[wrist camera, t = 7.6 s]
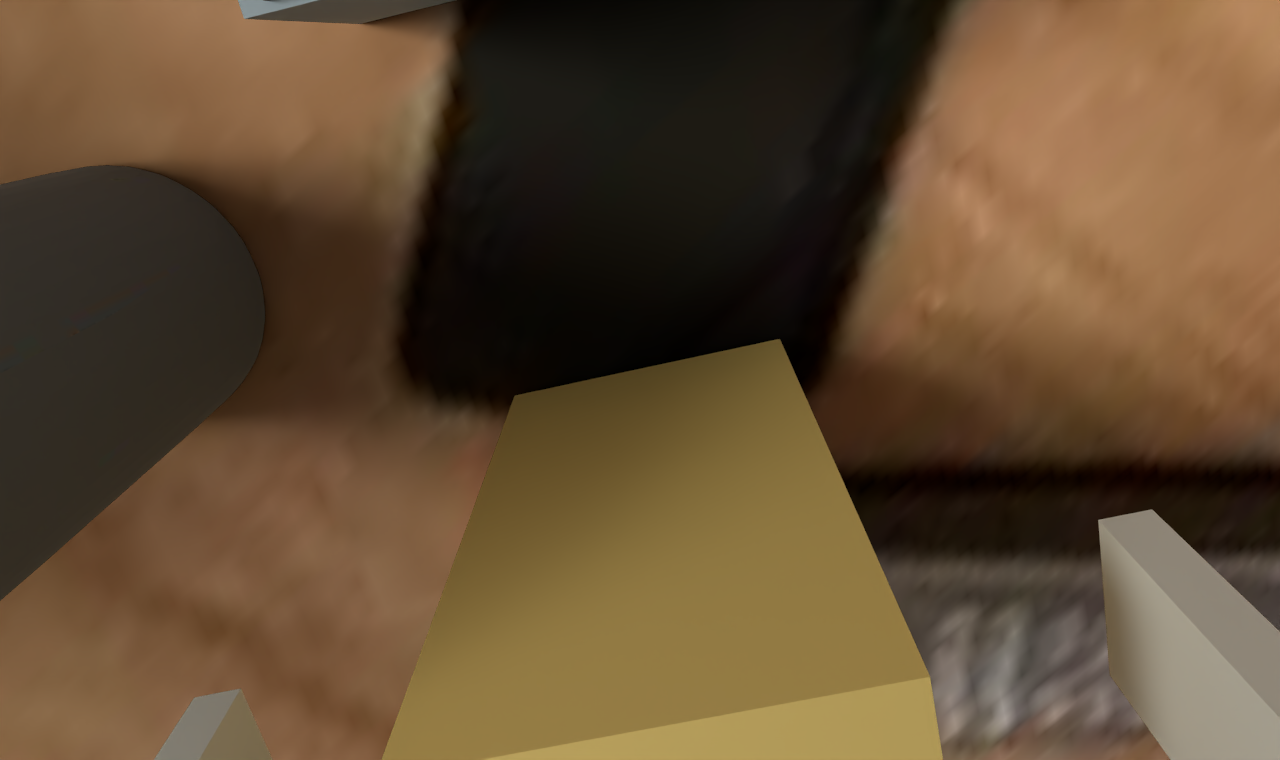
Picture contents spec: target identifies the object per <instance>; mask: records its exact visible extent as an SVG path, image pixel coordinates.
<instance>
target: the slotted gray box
mask: <svg viewBox="0 0 1280 760" xmlns="http://www.w3.org/2000/svg"><path fill="white" fill-rule="evenodd" d="M451 1H455V0H238V2H239V5H240V8H241V11H242V13H243V16H244V19H259V20H282V21H304V22H326V23H349V24H362V23H366V22H370V21H374V20H378V19H382V18H386V17H390V16H394V15H398V14H402V13H406V12H410V11H414V10H419V9H423V8H427V7H431V6H435V5H439V4H443V3H447V2H451Z"/></svg>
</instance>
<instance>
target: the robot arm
mask: <svg viewBox="0 0 1280 760" xmlns="http://www.w3.org/2000/svg"><path fill="white" fill-rule="evenodd" d="M1098 523H1099V536H1100V550H1101V564H1102V577H1103V591H1104V604H1105V618H1106V631H1107V645H1108V658H1109V672H1110V676H1111V677H1112V679H1113V680H1114V682H1115V683H1116V684H1117V686H1118V687H1119V688H1120V690H1121V691H1122V693H1123V694H1124V695H1125V697H1126V698H1127V700H1128V701H1129V702H1130V704H1131V705H1132V707H1133V708H1134V709H1135V711H1136V712H1137V714H1138V715H1139V716H1140V718H1141V719H1142V721H1143V722H1144V723H1145V725H1146V726H1147V728H1148V729H1149V730H1150V732H1151V733H1152V734H1153V736H1154V737H1155V739H1156V740H1157V741H1158V743H1159V744H1160V746H1161V747H1162V748H1163V750H1164V751H1165V753H1166V754H1167V755H1168V757H1169V758H1170V760H1280V632H1279V631H1278V630H1277V629H1276V628H1275V627H1274V626H1273V625H1272V624H1271V623H1270V622H1269V621H1268V620H1267V619H1266V618H1265V617H1264V616H1263V615H1262V614H1261V613H1260V612H1259V611H1258V610H1257V609H1255V608H1254V607H1253V606H1252V605H1251V604H1250V603H1249V602H1248V601H1247V600H1246V599H1245V598H1244V597H1243V596H1242V595H1241V594H1240V593H1239V592H1238V591H1237V590H1236V589H1235V588H1234V587H1232V586H1231V585H1230V584H1229V583H1228V582H1227V581H1226V580H1225V579H1224V578H1223V577H1222V576H1221V575H1220V574H1219V573H1218V572H1217V571H1216V570H1215V569H1214V568H1213V567H1212V566H1211V565H1210V564H1208V563H1207V562H1206V561H1205V560H1204V559H1203V558H1202V557H1201V556H1200V555H1199V554H1198V553H1197V552H1196V551H1195V550H1194V549H1193V548H1192V547H1191V546H1190V545H1189V544H1188V543H1187V542H1185V541H1184V540H1183V539H1182V538H1181V537H1180V536H1179V535H1178V534H1177V533H1176V532H1175V531H1174V530H1173V529H1172V528H1171V527H1170V526H1169V525H1168V524H1167V523H1166V522H1165V521H1164V520H1163V519H1161V518H1160V517H1159V516H1158V515H1157V514H1156V513H1155V512H1154V511H1153V510H1152V509H1151V510H1146V511H1141V512H1136V513H1131V514H1126V515H1121V516H1116V517H1111V518H1106V519H1101V520H1098ZM154 760H272V757H271V755H270V753H269V751H268V748H267V746H266V744H265V742H264V739H263V737H262V735H261V733H260V730H259V728H258V726H257V724H256V721H255V719H254V717H253V715H252V712H251V710H250V708H249V706H248V703H247V701H246V699H245V697H244V694H243V692H242V690H241V689H236V690H231V691H226V692H221V693H216V694H211V695H205V696H200V697H195V698H194V699H193V700H192V702H191V703H190V705H189V707H188V708H187V710H186V711H185V713H184V714H183V716H182V717H181V719H180V720H179V722H178V723H177V725H176V727H175V728H174V730H173V731H172V733H171V734H170V736H169V737H168V739H167V740H166V742H165V743H164V745H163V747H162V748H161V750H160V751H159V753H158V754H157V756H156V757H155V759H154Z"/></svg>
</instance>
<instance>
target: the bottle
mask: <svg viewBox="0 0 1280 760" xmlns="http://www.w3.org/2000/svg"><path fill="white" fill-rule="evenodd" d="M264 324H265V306H264V296H263V289H262V285H261V281H260V277H259V274H258V271H257V269H256V267H255V264H254V262H253V260H252V258H251V255H250V253H249V252H248V250H247V248H246V246H245V244H244V242H243V241H242V239H241V238H240V236H239V235H238V233H237V232H236V231H235V229H234V228H233V227H232V226H231V224H230V223H229V222H228V221H227V220H226V219H225V218H224V217H223V216H222V215H221V214H220V213H219V212H218V211H217V210H216V209H215V208H214V207H213V206H212V205H211V204H209V203H208V202H207V201H206V200H204V199H203V198H202V197H200V196H199V195H198V194H196V193H194V192H193V191H191V190H190V189H188V188H186V187H184V186H183V185H181V184H179V183H177V182H175V181H173V180H171V179H169V178H167V177H164V176H162V175H160V174H156V173H152V172H149V171H145V170H141V169H137V168H132V167H125V166H110V165H106V166H90V167H83V168H77V169H72V170H66V171H61V172H55V173H50V174H45V175H41V176H37V177H32V178H28V179H23V180H19V181H14V182H10V183H6V184H1V185H0V600H1V599H3V598H4V597H5V596H6V595H7V594H8V593H10V592H11V591H12V590H13V589H14V588H15V587H17V586H18V585H19V584H20V583H21V582H22V581H23V580H25V579H26V578H27V577H28V576H29V575H30V574H32V573H33V572H34V571H35V570H36V569H37V568H39V567H40V566H41V565H42V564H43V563H44V562H45V561H47V560H48V559H49V558H50V557H51V556H52V555H53V554H54V553H56V552H57V551H58V550H59V549H60V548H61V547H62V546H63V545H65V544H66V543H67V542H68V541H69V540H70V539H71V538H72V537H74V536H75V535H76V534H77V533H78V532H79V531H80V530H81V529H83V528H84V527H85V526H86V525H87V524H88V523H89V522H90V521H92V520H93V519H94V518H95V517H96V516H97V515H98V514H99V513H101V512H102V511H103V510H104V509H105V508H106V507H107V506H109V505H110V504H111V503H112V502H113V501H114V500H115V499H116V498H118V497H119V496H120V495H121V494H122V493H123V492H124V491H125V490H127V489H128V488H129V487H130V486H131V485H132V484H133V483H134V482H136V481H137V480H138V479H139V478H140V477H141V476H142V475H143V474H145V473H146V472H147V471H148V470H149V469H150V468H151V467H152V466H154V465H155V464H156V463H157V462H158V461H159V460H160V459H161V458H163V457H164V456H165V455H166V454H167V453H168V452H169V451H170V450H172V449H173V448H174V447H175V446H176V445H177V444H178V443H179V442H181V441H182V440H183V439H184V438H185V437H186V436H187V435H188V434H190V433H191V432H192V431H193V430H194V429H195V428H196V427H197V426H198V425H199V424H201V423H202V422H203V421H204V420H205V419H206V418H207V417H208V416H209V415H210V414H212V413H213V412H214V411H215V410H216V409H217V408H218V407H219V406H220V405H221V404H223V403H224V402H225V401H226V400H227V399H228V398H229V397H230V396H231V395H232V394H233V393H234V392H235V390H236V389H237V388H238V387H239V386H240V384H241V383H242V382H243V380H244V379H245V377H246V376H247V374H248V373H249V371H250V369H251V368H252V366H253V364H254V362H255V360H256V358H257V356H258V353H259V349H260V346H261V343H262V339H263V332H264Z"/></svg>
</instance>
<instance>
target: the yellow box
mask: <svg viewBox="0 0 1280 760" xmlns="http://www.w3.org/2000/svg"><path fill="white" fill-rule="evenodd" d="M382 760H943V758H942V751H941V745H940V738H939V732H938V725H937V719H936V712H935V706H934V700H933V693H932V687H931V680H930V676H929V673H928V671H927V669H926V667H925V664H924V662H923V660H922V658H921V655H920V653H919V651H918V649H917V646H916V644H915V642H914V640H913V637H912V635H911V633H910V631H909V628H908V626H907V624H906V622H905V619H904V617H903V615H902V613H901V610H900V608H899V606H898V604H897V601H896V599H895V597H894V595H893V592H892V590H891V588H890V586H889V583H888V581H887V579H886V577H885V574H884V572H883V570H882V568H881V565H880V563H879V561H878V559H877V556H876V554H875V552H874V550H873V547H872V545H871V543H870V541H869V538H868V536H867V534H866V532H865V529H864V527H863V525H862V523H861V520H860V518H859V516H858V514H857V511H856V509H855V507H854V505H853V502H852V500H851V498H850V496H849V493H848V491H847V489H846V487H845V484H844V482H843V480H842V478H841V475H840V473H839V471H838V469H837V466H836V464H835V462H834V460H833V457H832V455H831V453H830V451H829V448H828V446H827V444H826V442H825V439H824V437H823V435H822V433H821V430H820V428H819V426H818V424H817V421H816V419H815V417H814V415H813V412H812V410H811V408H810V406H809V403H808V401H807V399H806V397H805V394H804V392H803V390H802V388H801V385H800V383H799V381H798V379H797V376H796V374H795V372H794V370H793V367H792V365H791V363H790V361H789V358H788V356H787V354H786V352H785V349H784V347H783V345H782V343H781V340H780V339H777V340H772V341H767V342H763V343H758V344H753V345H749V346H744V347H739V348H735V349H730V350H725V351H721V352H716V353H711V354H707V355H702V356H697V357H693V358H688V359H683V360H679V361H674V362H669V363H665V364H660V365H655V366H651V367H646V368H641V369H637V370H632V371H627V372H623V373H618V374H613V375H609V376H604V377H599V378H595V379H590V380H585V381H581V382H576V383H571V384H566V385H562V386H557V387H552V388H548V389H543V390H538V391H534V392H529V393H524V394H520V395H515V396H514V398H513V401H512V404H511V407H510V409H509V412H508V415H507V418H506V420H505V423H504V426H503V429H502V431H501V434H500V437H499V440H498V442H497V445H496V448H495V451H494V453H493V456H492V459H491V461H490V464H489V467H488V470H487V472H486V475H485V478H484V481H483V483H482V486H481V489H480V492H479V494H478V497H477V500H476V503H475V505H474V508H473V511H472V514H471V516H470V519H469V522H468V524H467V527H466V530H465V533H464V535H463V538H462V541H461V544H460V546H459V549H458V552H457V555H456V557H455V560H454V563H453V566H452V568H451V571H450V574H449V577H448V579H447V582H446V585H445V587H444V590H443V593H442V596H441V598H440V601H439V604H438V607H437V609H436V612H435V615H434V618H433V620H432V623H431V626H430V629H429V631H428V634H427V637H426V640H425V642H424V645H423V648H422V650H421V653H420V656H419V659H418V661H417V664H416V667H415V670H414V672H413V675H412V678H411V681H410V683H409V686H408V689H407V692H406V694H405V697H404V700H403V703H402V705H401V708H400V711H399V713H398V716H397V719H396V722H395V724H394V727H393V730H392V733H391V735H390V738H389V741H388V744H387V746H386V749H385V752H384V755H383V757H382Z"/></svg>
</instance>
